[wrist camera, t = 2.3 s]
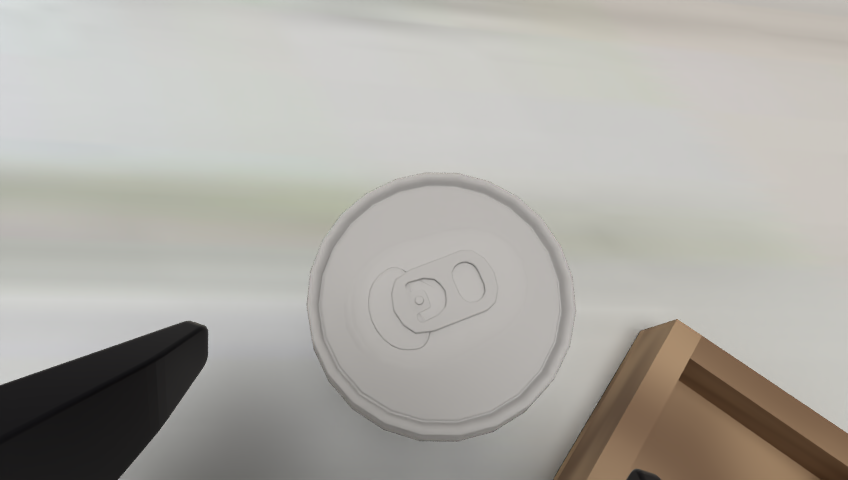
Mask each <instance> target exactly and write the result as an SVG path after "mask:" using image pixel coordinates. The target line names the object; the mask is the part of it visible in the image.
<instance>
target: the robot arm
mask: <svg viewBox="0 0 848 480" xmlns="http://www.w3.org/2000/svg"><path fill="white" fill-rule="evenodd" d="M207 357H208V329H207V327H206V326H204V325H201V324H198V323H195V322H192V321H185V322H182V323H179V324H176V325H173V326H170V327H167V328H164V329H161V330H158V331H156V332H153V333H150V334H147V335H144V336H141V337H138V338H135V339H132V340H130V341H127V342H124V343H121V344H118V345H115V346H112V347H109V348H106V349H104V350H101V351H98V352H95V353H92V354H89V355H86V356H83V357H80V358H78V359H75V360H72V361H69V362H66V363H63V364H60V365H57V366H54V367H51V368H49V369H46V370H43V371H40V372H37V373H34V374H31V375H28V376H25V377H23V378H20V379H17V380H14V381H11V382H8V383H5V384H2V385H0V480H118V479H119V478H120V476H121V475H122V474H123V473H124V472H125V471H126V469H127V468H128V467H129V466H130V465H131V464H132V462H133V461H134V460H135V459H136V458H137V456H138V455H139V454H140V453H141V452H142V451H143V449H144V448H145V447H146V446H147V445H148V443H149V442H150V441H151V440H152V439H153V437H154V436H155V435H156V434H157V433H158V431H159V430H160V429H161V427H162V426H163V425H164V423H165V422H166V421H167V419H168V418H169V416H170V415H171V413H172V412H173V410H174V409H175V408H176V406H177V405H178V403H179V402H180V400H181V399H182V397H183V396H184V395H185V393H186V392H187V390H188V389H189V387H190V386H191V384H192V383H193V382H194V380H195V379H196V377H197V376H198V374H199V373H200V371H201V370H202V369H203V367H204V365H205V363H206V361H207ZM626 480H661V479H660V478H659V477H658V476H657V475H656V474H653V473H650V472H647V471H644V470H641V469H634V470H632V472H631V473H630V474H629V476H628V477H627V479H626Z"/></svg>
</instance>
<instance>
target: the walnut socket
mask: <svg viewBox="0 0 848 480" xmlns="http://www.w3.org/2000/svg"><path fill="white" fill-rule="evenodd" d="M634 469H641V470H644V471H647V472H650V473H653V474H656V475H657V476H658V477H659V478H660V479H661V480H848V433H846V432H845V431H843V430H842V429H840V428H839V427H837V426H836V425H834V424H833V423H831V422H830V421H828V420H827V419H825V418H824V417H822V416H821V415H819V414H818V413H816V412H815V411H813V410H812V409H810V408H809V407H807V406H806V405H804V404H803V403H801V402H800V401H798V400H797V399H795V398H794V397H792V396H791V395H790V394H788V393H787V392H785V391H784V390H782V389H781V388H779V387H778V386H776V385H775V384H773V383H772V382H770V381H769V380H767V379H766V378H764V377H763V376H761V375H760V374H758V373H757V372H755V371H754V370H752V369H751V368H749V367H748V366H746V365H745V364H743V363H742V362H740V361H739V360H737V359H736V358H734V357H733V356H731V355H730V354H728V353H727V352H725V351H724V350H722V349H721V348H719V347H718V346H716V345H715V344H713V343H712V342H711V341H709V340H708V339H706V338H705V337H703V336H702V335H700V334H699V333H697V332H696V331H694V330H693V329H691V328H690V327H688V326H687V325H685V324H684V323H682V322H681V321H679V320H678V319H676V320H673V321H670V322H667V323H664V324H661V325H657V326H654V327H651V328H648V329H645V330H642V331H640V333H639V334H638V336H637V338H636V340H635V341H634V343H633V345H632V346H631V348H630V350H629V351H628V353H627V355H626V357H625V358H624V360H623V362H622V363H621V365H620V367H619V368H618V370H617V372H616V374H615V375H614V377H613V379H612V380H611V382H610V384H609V385H608V387H607V389H606V391H605V392H604V394H603V396H602V397H601V399H600V401H599V403H598V404H597V406H596V408H595V409H594V411H593V413H592V414H591V416H590V418H589V420H588V421H587V423H586V425H585V426H584V428H583V430H582V431H581V433H580V435H579V437H578V438H577V440H576V442H575V443H574V445H573V447H572V448H571V450H570V452H569V454H568V455H567V457H566V459H565V460H564V462H563V464H562V465H561V467H560V469H559V471H558V472H557V474H556V476H555V477H554V479H553V480H626V479H627V477H628V476H629V474H630V473H631V472H632V470H634Z"/></svg>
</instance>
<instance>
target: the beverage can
mask: <svg viewBox="0 0 848 480" xmlns="http://www.w3.org/2000/svg"><path fill="white" fill-rule="evenodd" d="M307 311H308V317H309V323H310V330H311V336H312V341H313V347H314V350H315V353H316V355H317V357H318V359H319V361H320V363H321V365H322V368H323V370H324V372H325V374H326V376H327V378H328V381H329V382H330V383H331V384H332V386H333V387H334V388H335V389H336V390H337V391H338V393H339V394H340V395H341V396H342V397H343V398H344V400H345V401H346V402H347V403H348V404H349V405H350V407H351V408H352V409H353V410H355V411H356V412H358V413H359V414H361V415H362V416H364V417H365V418H367V419H368V420H370V421H371V422H373V423H375V424H376V425H378V426H379V427H381V428H382V429H384V430H387V431H390V432H393V433H396V434H399V435H403V436H406V437H409V438H412V439H415V440H419V441H461V440H465V439H468V438H472V437H476V436H479V435H483V434H487V433H490V432H494V431H495V430H497V429H498V428H500V427H502V426H503V425H505V424H506V423H508V422H510V421H511V420H513V419H514V418H516V417H518V416H519V415H521V414H522V413H524V412H525V411H526V410H527V409H528V408H529V407H530V406H531V404H532V403H533V402H534V401H535V400H536V399H537V398H538V397H539V396H540V395H541V393H542V392H543V391H544V390H545V389H546V388H547V387H548V386H549V384H550V383H551V382H552V381H553V380H554V378H555V376H556V374H557V372H558V370H559V368H560V366H561V364H562V361H563V359H564V357H565V355H566V353H567V351H568V349H569V347H570V342H571V337H572V331H573V325H574V319H575V314H576V307H575V297H574V287H573V277H572V274H571V272H570V269H569V266H568V264H567V261H566V258H565V255H564V253H563V250H562V247H561V245H560V244H559V242H558V241H557V239H556V238H555V236H554V235H553V233H552V232H551V231H550V229H549V228H548V226H547V225H546V223H545V222H544V220H543V219H542V218H541V217H540V216H539V215H538V214H537V213H536V212H534V211H533V210H532V209H531V208H530V207H529V206H528V205H527V204H525V203H524V202H523V201H522V200H521V199H520V198H519V197H518V196H516V195H514V194H512V193H510V192H508V191H506V190H504V189H502V188H501V187H499V186H497V185H495V184H493V183H491V182H489V181H486V180H482V179H478V178H474V177H471V176H467V175H463V174H459V173H422V174H417V175H412V176H408V177H403V178H398V179H395V180H393V181H390V182H388V183H386V184H384V185H382V186H380V187H378V188H376V189H374V190H372V191H370V192H368V193H366V194H365V195H364V196H362V197H361V198H360V199H359V200H358V201H356V202H355V203H354V204H353V205H352V206H350V207H349V208H348V209H347V210H345V211H344V212H343V213H342V214H341V215H340V217H339V218H338V219H337V221H336V222H335V224H334V225H333V226H332V228H331V229H330V231H329V232H328V233H327V235H326V236H325V237H324V239H323V240H322V243H321V245H320V248H319V250H318V253H317V256H316V258H315V261H314V263H313V266H312V268H311V271H310V279H309V288H308V298H307Z"/></svg>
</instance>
